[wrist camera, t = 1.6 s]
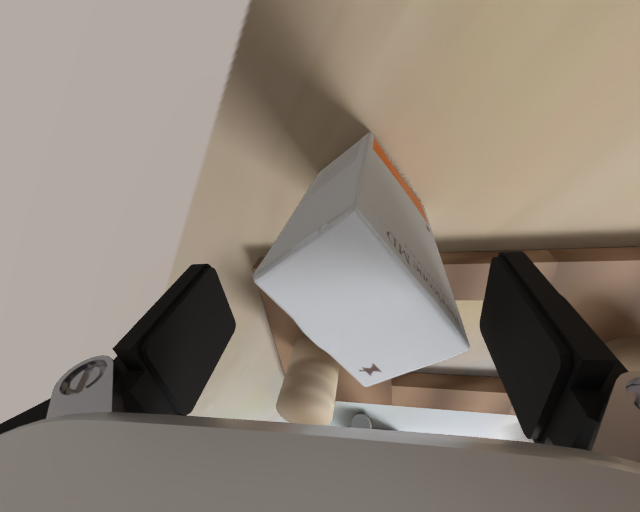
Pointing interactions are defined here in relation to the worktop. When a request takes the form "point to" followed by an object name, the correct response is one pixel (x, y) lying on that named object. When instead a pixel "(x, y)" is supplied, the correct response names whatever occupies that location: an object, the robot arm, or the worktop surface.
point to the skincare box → (365, 271)
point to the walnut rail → (466, 284)
